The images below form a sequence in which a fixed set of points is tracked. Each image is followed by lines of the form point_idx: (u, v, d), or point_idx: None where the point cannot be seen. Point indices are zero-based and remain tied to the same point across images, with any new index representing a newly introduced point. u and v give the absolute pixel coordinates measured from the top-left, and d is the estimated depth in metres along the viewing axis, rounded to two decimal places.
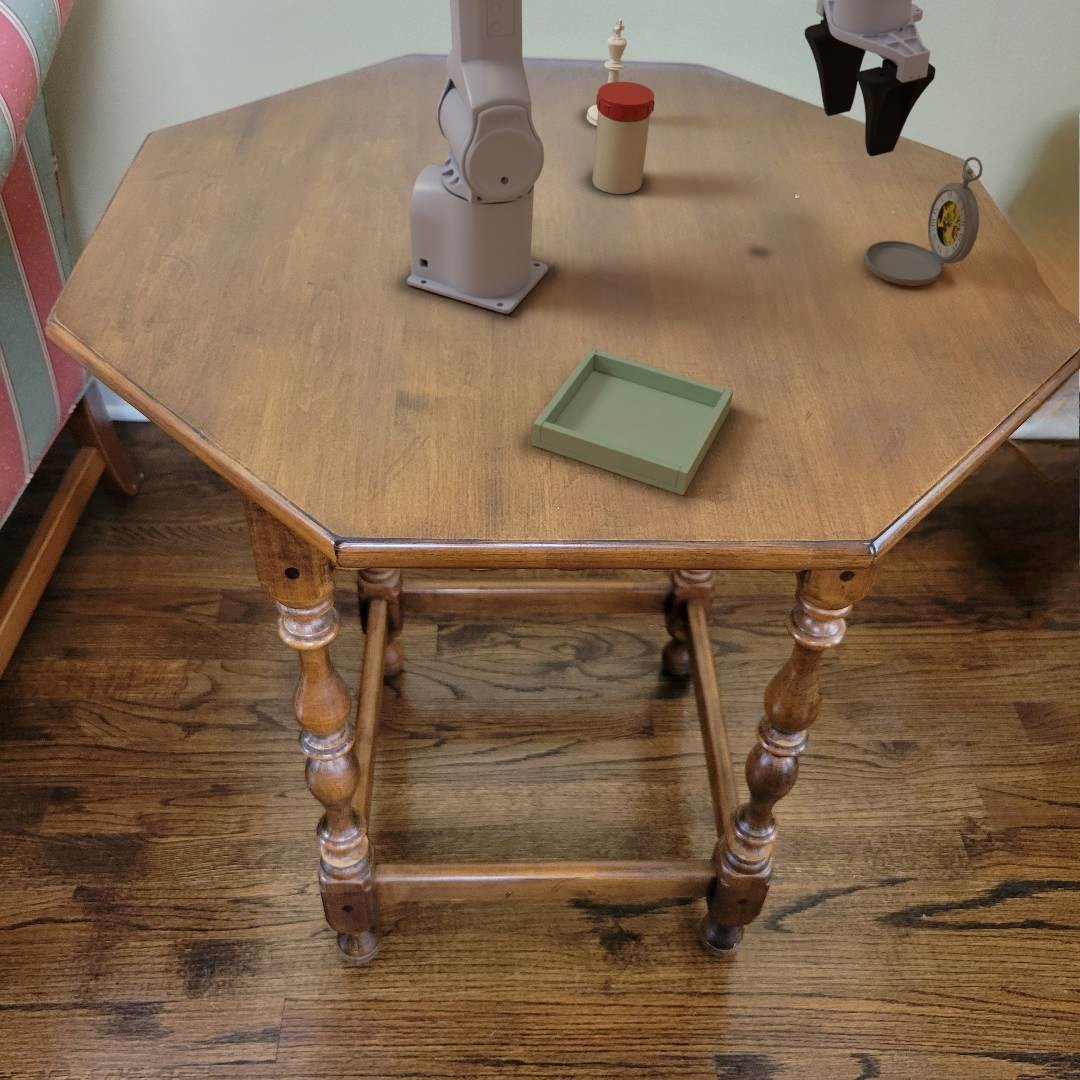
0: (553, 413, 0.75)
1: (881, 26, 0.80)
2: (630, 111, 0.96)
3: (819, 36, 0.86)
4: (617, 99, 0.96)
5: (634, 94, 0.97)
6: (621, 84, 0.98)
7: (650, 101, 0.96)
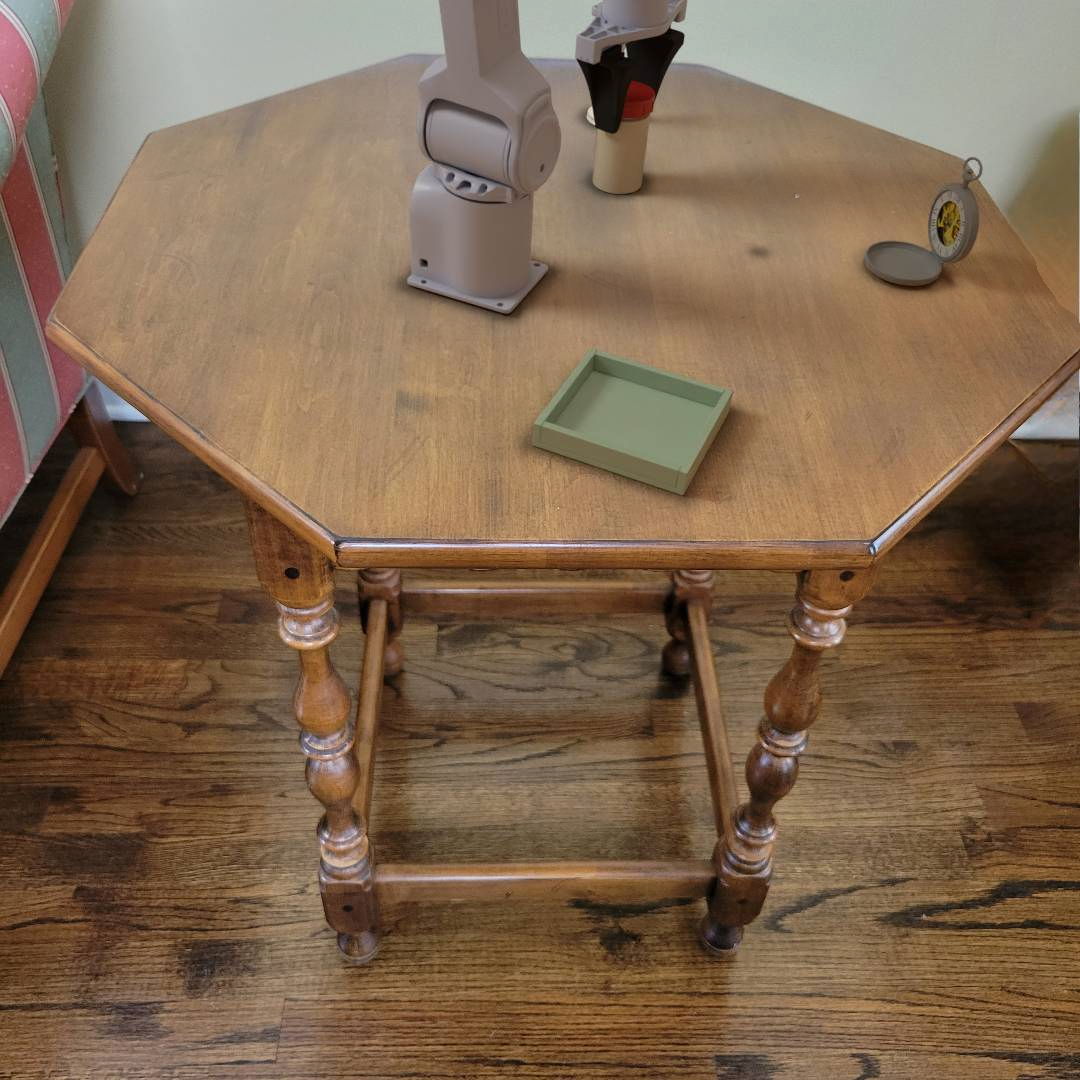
0: (553, 413, 0.75)
1: None
2: None
3: (633, 59, 0.91)
4: (639, 86, 0.98)
5: None
6: (627, 99, 0.95)
7: None
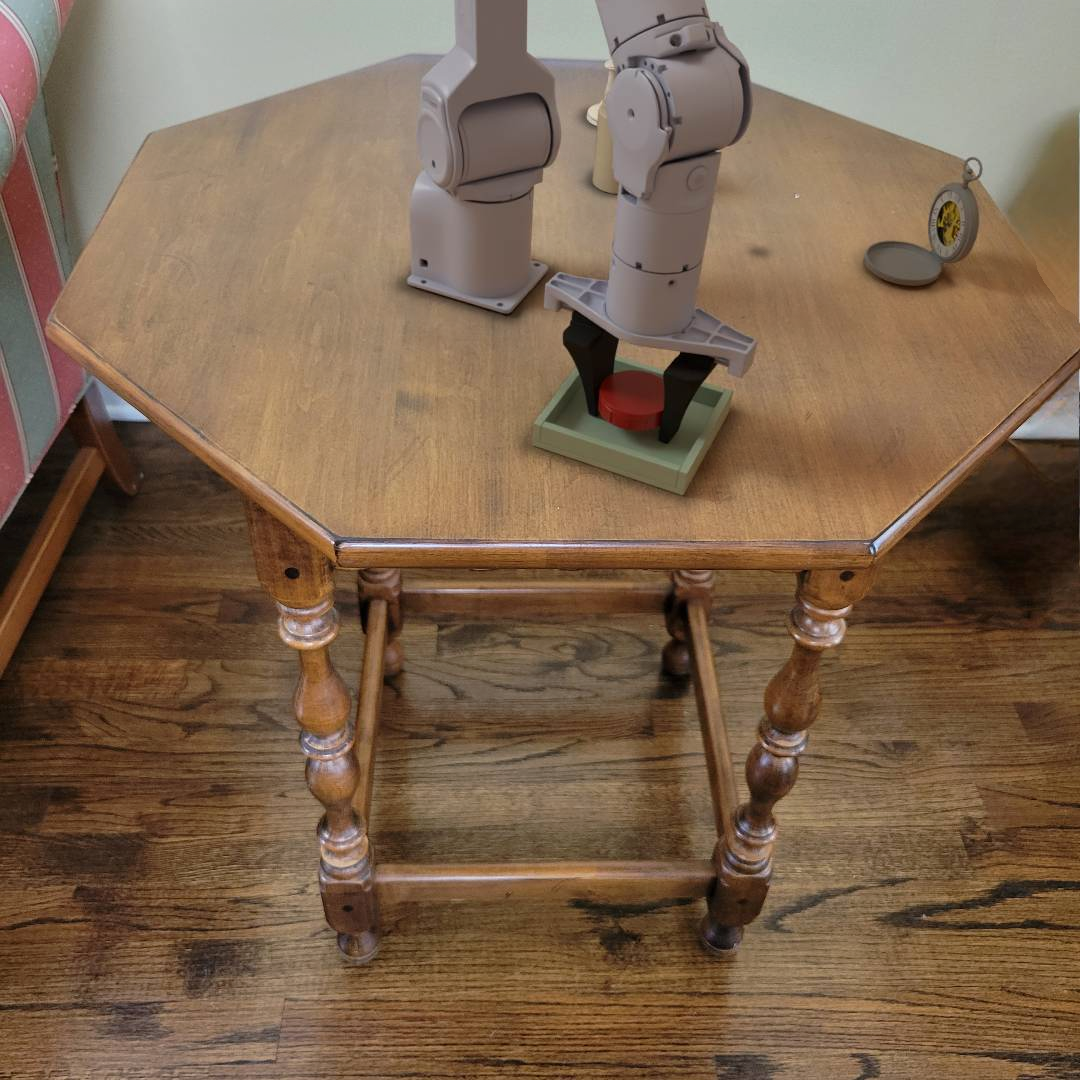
0: (553, 413, 0.75)
1: (685, 322, 0.68)
2: None
3: (590, 342, 0.71)
4: (658, 401, 0.73)
5: (640, 385, 0.75)
6: (609, 391, 0.74)
7: None
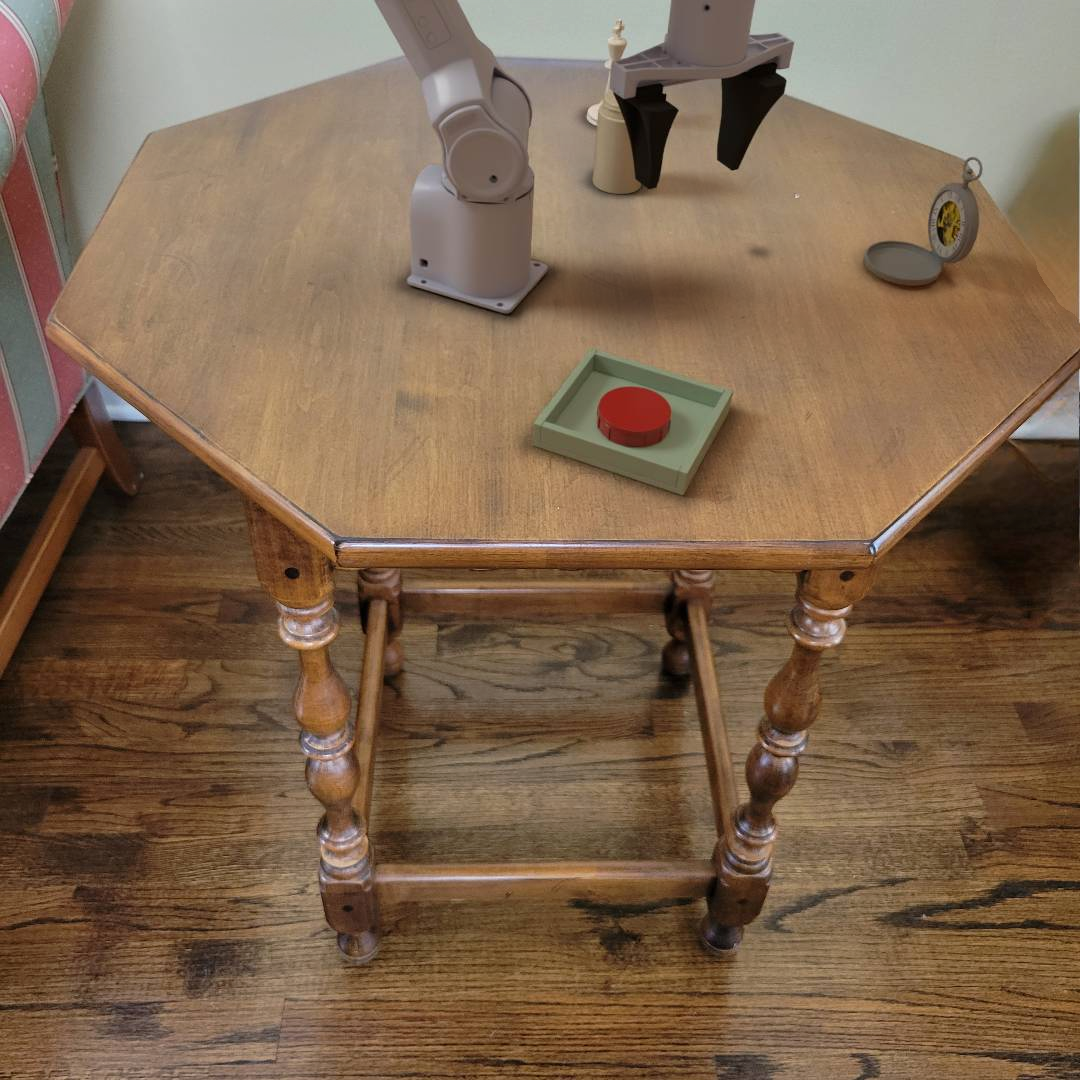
0: (553, 413, 0.75)
1: None
2: None
3: (671, 104, 0.75)
4: (656, 418, 0.74)
5: (639, 402, 0.75)
6: (608, 408, 0.75)
7: (655, 393, 0.76)
